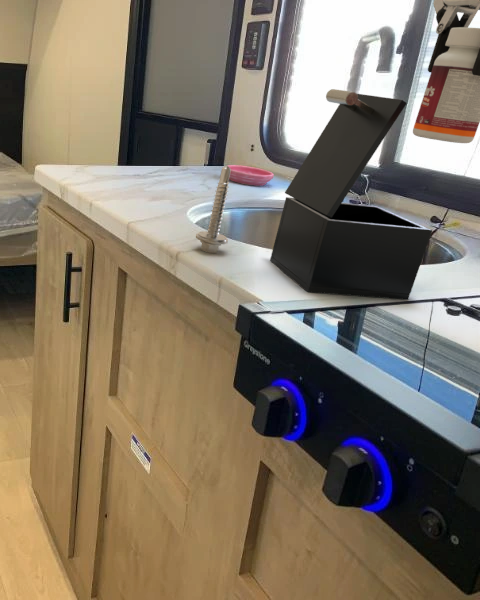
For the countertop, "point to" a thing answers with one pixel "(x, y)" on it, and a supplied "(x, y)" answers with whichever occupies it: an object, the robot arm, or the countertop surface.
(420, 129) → the pill bottle
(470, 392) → the countertop surface
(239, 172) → the saucer
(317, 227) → the bin
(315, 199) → the bin lid
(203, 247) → the screw
